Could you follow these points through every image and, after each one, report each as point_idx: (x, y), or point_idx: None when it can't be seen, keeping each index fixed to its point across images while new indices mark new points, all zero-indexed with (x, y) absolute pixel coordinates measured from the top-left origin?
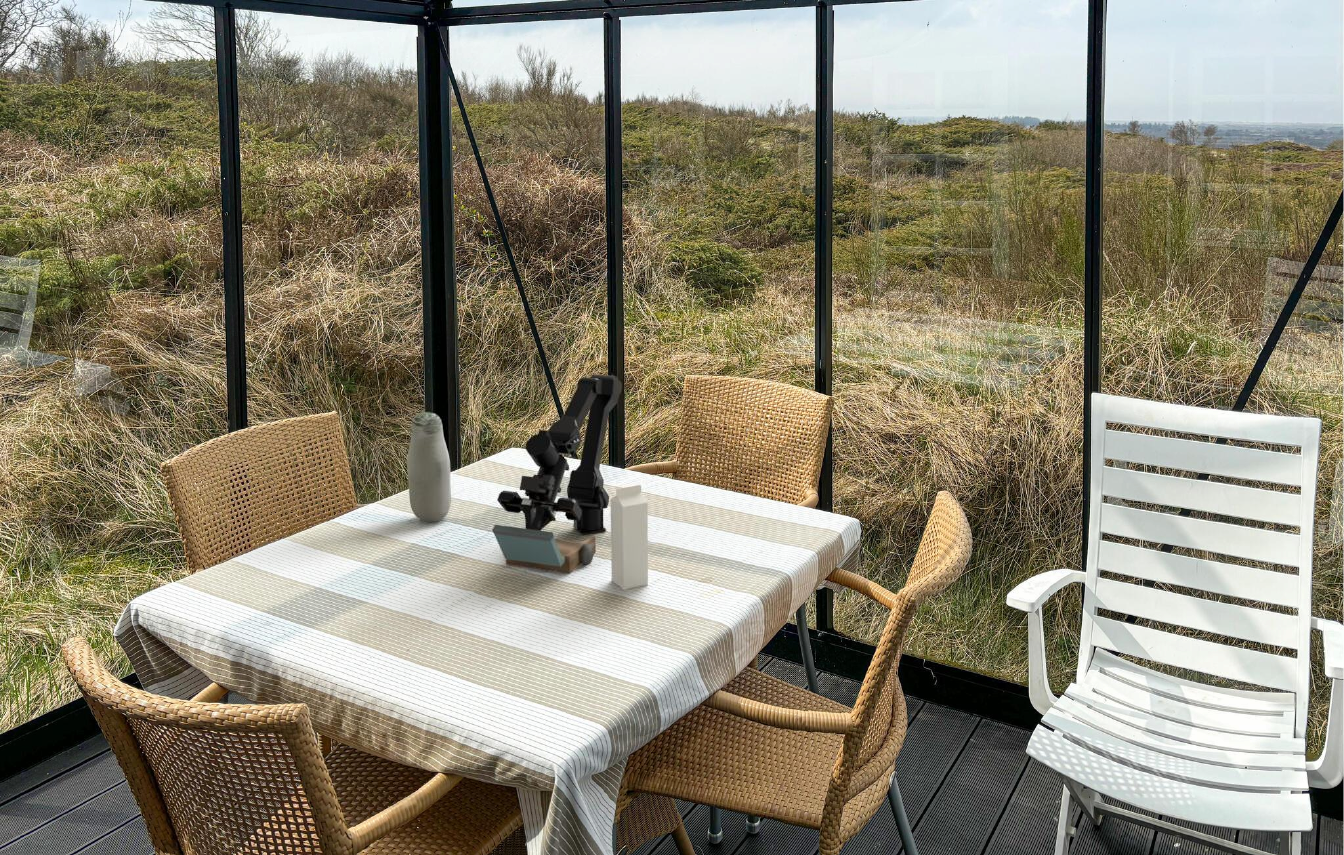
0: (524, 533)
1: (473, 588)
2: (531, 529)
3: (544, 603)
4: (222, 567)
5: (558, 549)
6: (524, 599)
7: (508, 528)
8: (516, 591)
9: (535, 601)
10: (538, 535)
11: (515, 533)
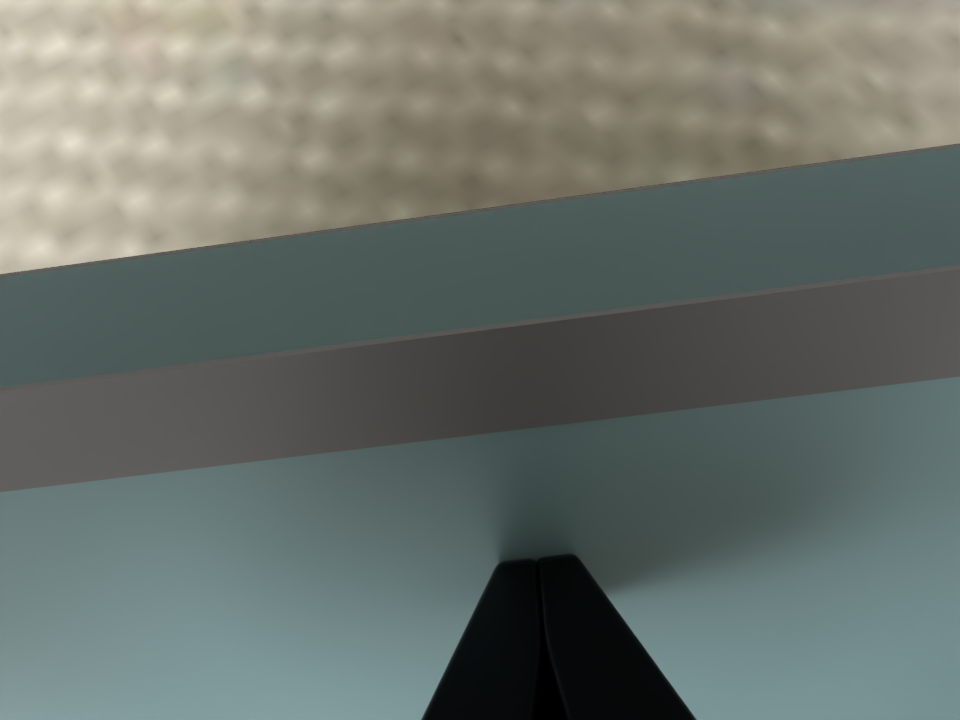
0: (396, 239)
1: (838, 39)
2: (253, 364)
3: (55, 83)
4: None
5: (3, 716)
6: (257, 68)
7: (921, 220)
8: (422, 173)
9: (146, 79)
10: (25, 286)
11: (631, 196)
